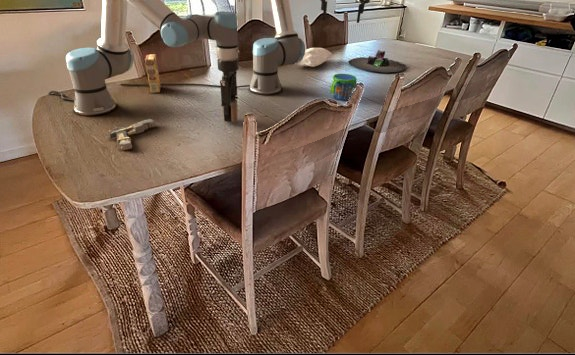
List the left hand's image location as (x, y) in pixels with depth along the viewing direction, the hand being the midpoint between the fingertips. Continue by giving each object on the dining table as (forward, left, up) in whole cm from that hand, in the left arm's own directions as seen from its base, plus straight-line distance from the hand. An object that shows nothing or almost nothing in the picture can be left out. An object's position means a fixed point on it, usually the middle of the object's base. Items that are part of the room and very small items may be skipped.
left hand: (230, 118), depth 144 cm
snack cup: (+43, +38, -2) cm, 58 cm away
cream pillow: (+21, +92, -2) cm, 94 cm away
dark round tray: (+63, +101, -2) cm, 119 cm away
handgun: (-29, -20, -2) cm, 35 cm away
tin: (0, 0, 0) cm, 0 cm away
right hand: (+39, +28, +34) cm, 59 cm away
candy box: (-45, +27, -2) cm, 52 cm away
